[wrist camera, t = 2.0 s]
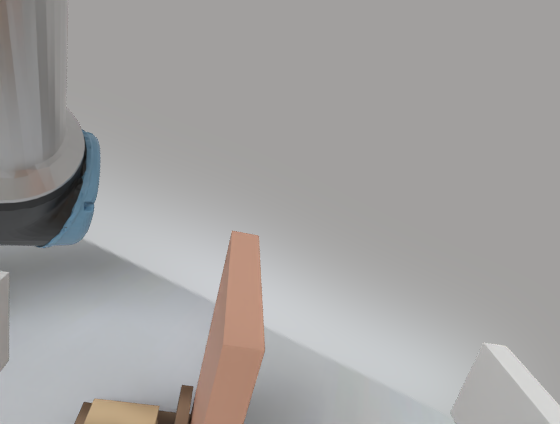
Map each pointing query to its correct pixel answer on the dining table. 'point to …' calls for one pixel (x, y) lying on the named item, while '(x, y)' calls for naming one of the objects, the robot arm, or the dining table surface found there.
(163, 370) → the dining table surface
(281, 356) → the dining table surface
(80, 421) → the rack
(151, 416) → the offcut stack
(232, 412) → the sheet
